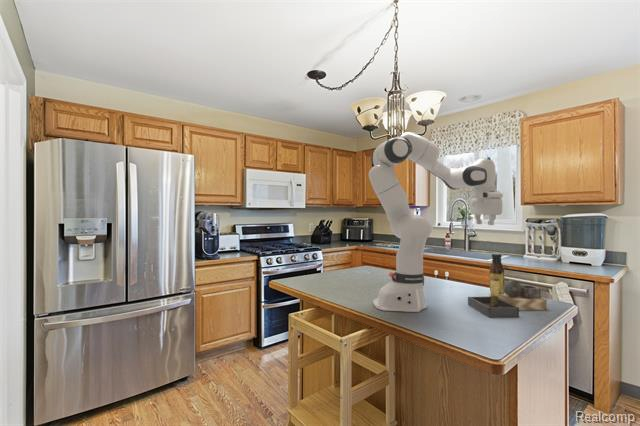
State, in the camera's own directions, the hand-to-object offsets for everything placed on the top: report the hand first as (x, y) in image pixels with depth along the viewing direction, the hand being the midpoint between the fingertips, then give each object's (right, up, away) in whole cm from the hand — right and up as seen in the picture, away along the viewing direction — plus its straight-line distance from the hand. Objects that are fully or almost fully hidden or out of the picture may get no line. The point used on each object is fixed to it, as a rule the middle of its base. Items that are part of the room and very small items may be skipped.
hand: (484, 224), depth 144 cm
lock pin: (-5, -33, -17) cm, 38 cm away
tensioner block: (+10, -34, -11) cm, 37 cm away
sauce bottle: (+9, -34, +6) cm, 36 cm away
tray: (-6, -34, -17) cm, 39 cm away
